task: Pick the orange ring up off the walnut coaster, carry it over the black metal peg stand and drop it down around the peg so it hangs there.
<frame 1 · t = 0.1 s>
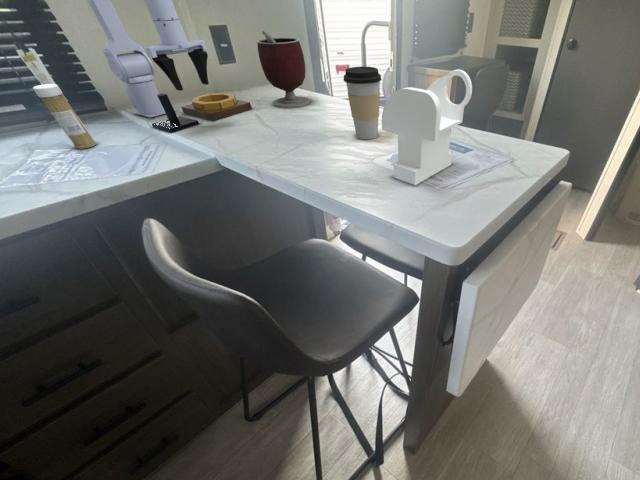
hand: (193, 87, 85), 10 cm above the countertop, tool pointing down, fingers open, 7 cm apart
mate gourd: (291, 104, 110), on the countertop
coaster: (218, 111, 103), on the countertop
peg stand: (176, 125, 93), on the countertop
sprinkles bottle: (86, 147, 82), on the countertop
tape dispenser: (426, 172, 70), on the countertop
coffee cup: (366, 136, 87), on the countertop
orange ring: (216, 104, 102), point 2 cm above the countertop, touching coaster
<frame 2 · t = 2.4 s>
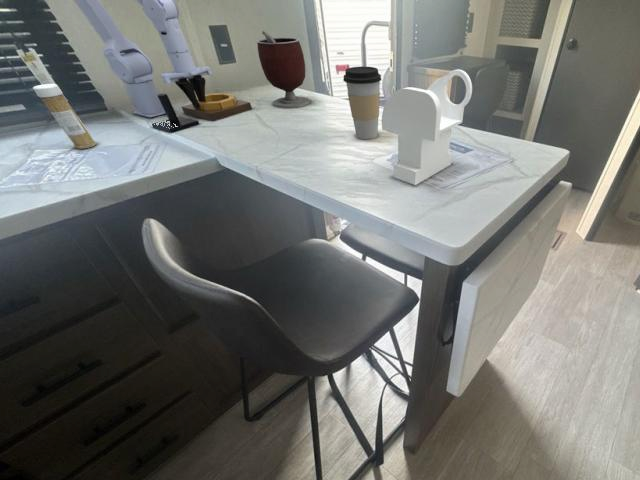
hand: (200, 106, 98), 3 cm above the countertop, tool pointing down, fingers closed on orange ring, 2 cm apart
orange ring: (216, 104, 102), point 2 cm above the countertop, touching coaster, gripper
everything else where it was.
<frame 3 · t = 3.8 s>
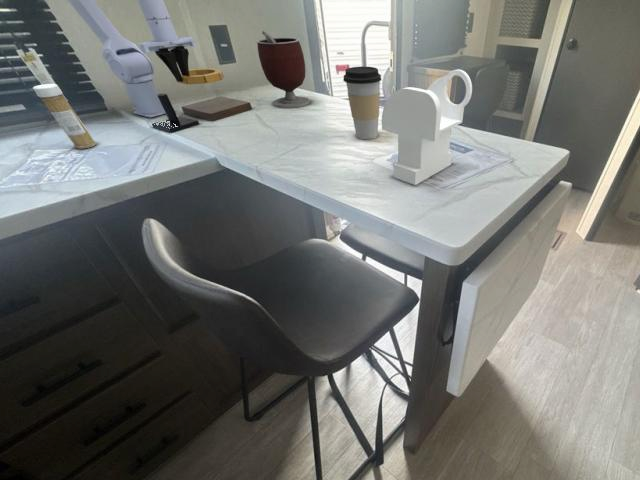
hand: (183, 80, 92), 10 cm above the countertop, tool pointing down, fingers closed on orange ring
orange ring: (201, 79, 96), point 9 cm above the countertop, touching gripper
everything else where it was.
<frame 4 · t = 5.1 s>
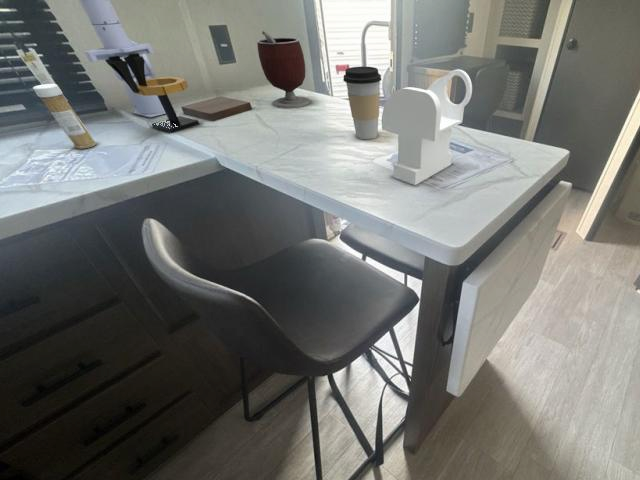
hand: (140, 91, 83), 10 cm above the countertop, tool pointing down, fingers closed on orange ring
orange ring: (161, 89, 87), point 9 cm above the countertop, touching gripper
everything else where it was.
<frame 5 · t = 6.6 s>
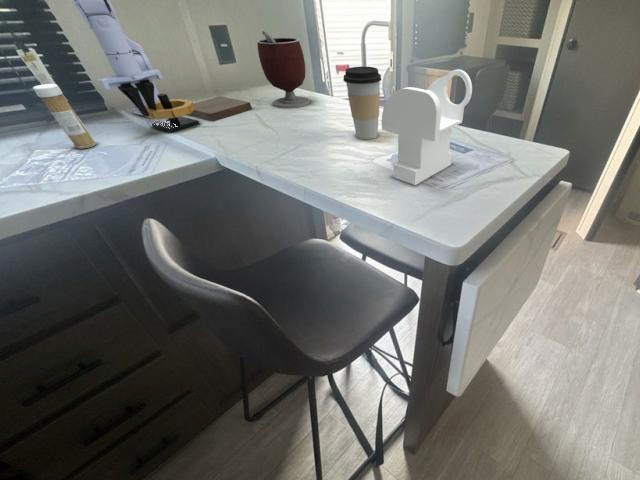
hand: (150, 114, 87), 4 cm above the countertop, tool pointing down, fingers closed on orange ring, 2 cm apart
orange ring: (170, 112, 91), point 4 cm above the countertop, touching gripper
everything else where it was.
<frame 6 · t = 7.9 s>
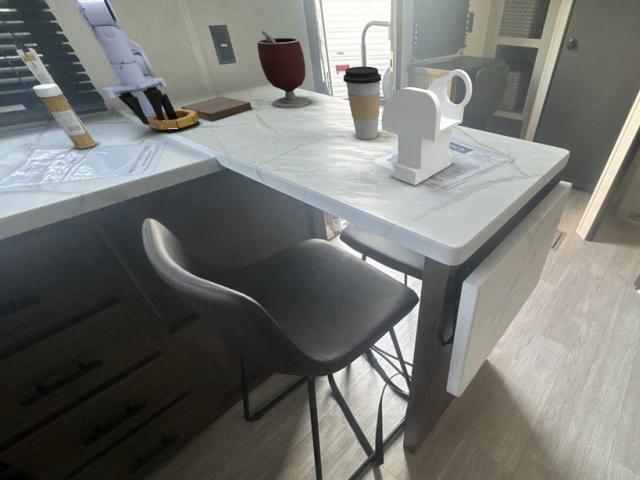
hand: (154, 121, 88), 2 cm above the countertop, tool pointing down, fingers open, 4 cm apart
orange ring: (174, 122, 92), point 1 cm above the countertop, touching peg stand
everything else where it was.
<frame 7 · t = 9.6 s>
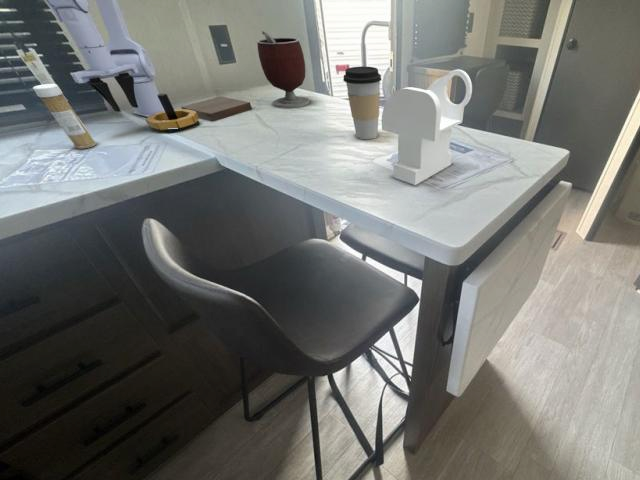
hand: (126, 109, 87), 5 cm above the countertop, tool pointing down, fingers open, 4 cm apart
nothing on the countertop moved.
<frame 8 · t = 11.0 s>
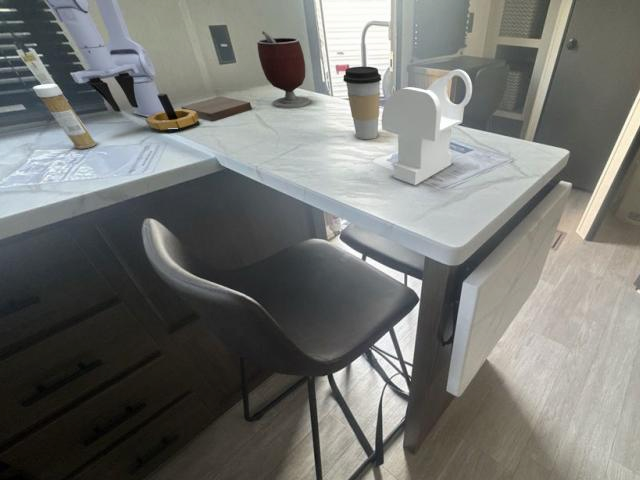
hand: (126, 109, 87), 5 cm above the countertop, tool pointing down, fingers open, 4 cm apart
nothing on the countertop moved.
at the end: orange ring 0.1 cm from the peg stand (horizontally); orange ring point 1.0 cm above the countertop; the gripper is holding nothing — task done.
